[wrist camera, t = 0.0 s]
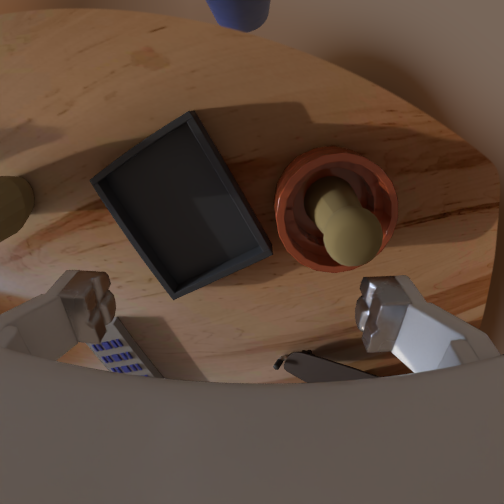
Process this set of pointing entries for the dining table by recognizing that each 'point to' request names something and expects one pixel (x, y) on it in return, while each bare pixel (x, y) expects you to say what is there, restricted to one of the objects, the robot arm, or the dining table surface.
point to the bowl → (300, 179)
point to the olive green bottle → (343, 221)
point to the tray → (182, 208)
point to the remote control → (123, 352)
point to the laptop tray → (319, 368)
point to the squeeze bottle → (14, 204)
